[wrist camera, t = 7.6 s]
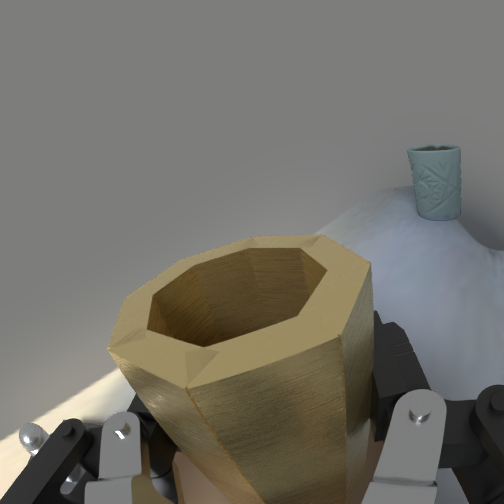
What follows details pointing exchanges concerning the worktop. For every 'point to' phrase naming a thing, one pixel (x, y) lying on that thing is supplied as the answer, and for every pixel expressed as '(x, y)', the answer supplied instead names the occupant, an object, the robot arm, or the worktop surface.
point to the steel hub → (34, 440)
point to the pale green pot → (437, 180)
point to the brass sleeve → (259, 365)
